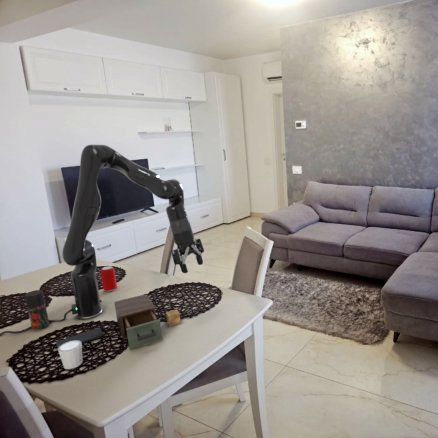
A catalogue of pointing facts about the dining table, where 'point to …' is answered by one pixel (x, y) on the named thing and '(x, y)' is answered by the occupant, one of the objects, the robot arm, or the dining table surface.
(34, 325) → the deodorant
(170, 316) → the block
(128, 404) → the dining table surface
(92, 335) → the phone
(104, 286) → the beverage can
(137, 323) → the drawer
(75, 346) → the white cup
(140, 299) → the cabinet
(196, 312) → the dining table surface
